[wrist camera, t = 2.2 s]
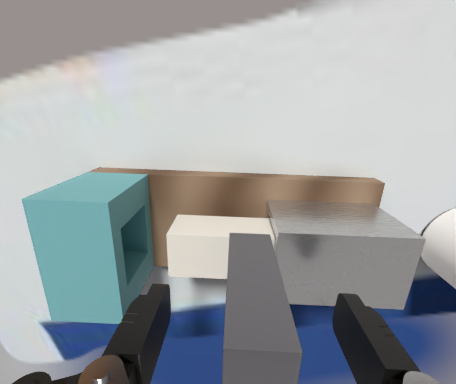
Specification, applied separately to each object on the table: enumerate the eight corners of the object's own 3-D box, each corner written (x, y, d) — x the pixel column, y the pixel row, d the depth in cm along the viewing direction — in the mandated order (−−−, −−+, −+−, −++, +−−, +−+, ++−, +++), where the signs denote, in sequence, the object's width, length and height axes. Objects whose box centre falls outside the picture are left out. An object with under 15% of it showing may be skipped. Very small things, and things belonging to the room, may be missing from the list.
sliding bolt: (375, 218, 17) (567, 366, 7) (364, 262, 18) (518, 443, 8) (177, 210, 17) (100, 342, 8) (178, 254, 19) (113, 419, 9)
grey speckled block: (373, 203, 18) (425, 239, 13) (360, 258, 20) (403, 309, 15) (266, 199, 19) (278, 232, 13) (261, 254, 20) (270, 303, 15)
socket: (147, 174, 18) (107, 202, 13) (154, 265, 21) (123, 324, 15) (88, 172, 18) (21, 199, 13) (102, 263, 21) (51, 320, 15)
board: (373, 178, 19) (384, 183, 18) (354, 264, 22) (362, 275, 20) (98, 167, 20) (88, 172, 18) (110, 253, 22) (102, 263, 21)
